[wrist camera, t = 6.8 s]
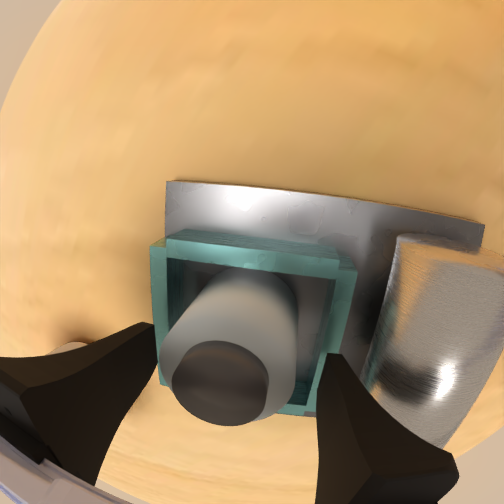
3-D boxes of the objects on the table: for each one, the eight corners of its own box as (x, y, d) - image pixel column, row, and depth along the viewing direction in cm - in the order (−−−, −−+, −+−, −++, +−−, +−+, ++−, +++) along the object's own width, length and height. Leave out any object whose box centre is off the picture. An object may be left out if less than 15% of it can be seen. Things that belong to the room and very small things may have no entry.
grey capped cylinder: (310, 279, 14) (314, 356, 8) (284, 363, 15) (273, 451, 9) (206, 255, 14) (147, 312, 8) (194, 340, 16) (149, 416, 10)
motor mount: (475, 221, 12) (562, 260, 6) (409, 408, 16) (432, 487, 9) (174, 180, 14) (84, 195, 8) (178, 383, 18) (134, 461, 11)
